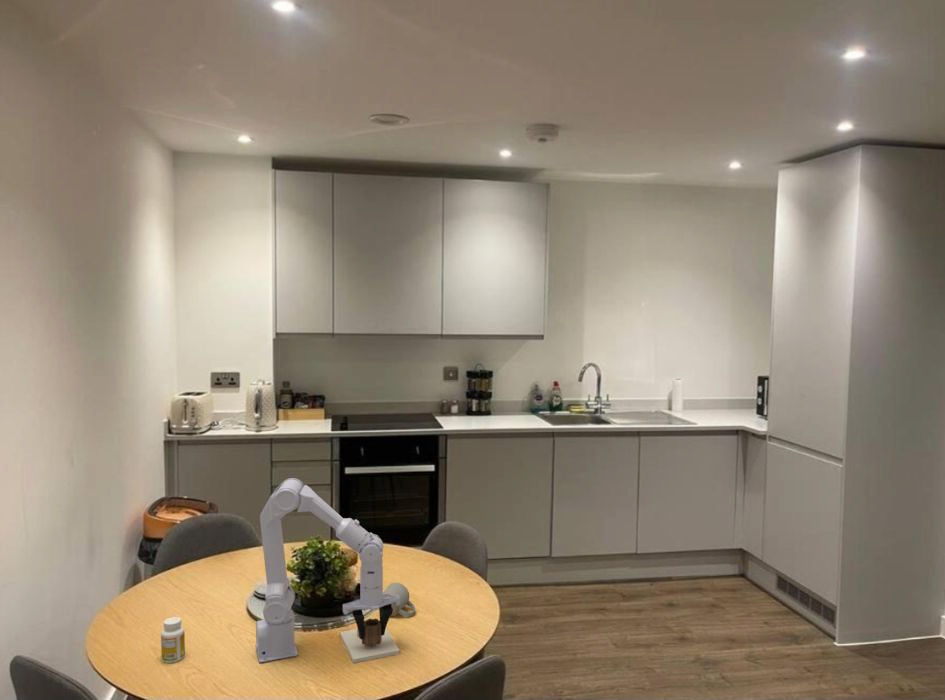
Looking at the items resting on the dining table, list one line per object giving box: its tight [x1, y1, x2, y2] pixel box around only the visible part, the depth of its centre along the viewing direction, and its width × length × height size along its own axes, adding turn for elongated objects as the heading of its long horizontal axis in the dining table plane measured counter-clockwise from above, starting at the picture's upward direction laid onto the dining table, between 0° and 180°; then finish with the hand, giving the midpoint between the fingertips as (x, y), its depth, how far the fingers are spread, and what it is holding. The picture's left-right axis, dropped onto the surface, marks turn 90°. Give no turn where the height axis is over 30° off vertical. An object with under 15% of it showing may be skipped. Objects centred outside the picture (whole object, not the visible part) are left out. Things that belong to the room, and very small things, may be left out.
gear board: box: [339, 628, 401, 664], centre depth 179 cm, size 12×15×4 cm
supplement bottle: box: [160, 616, 186, 664], centre depth 172 cm, size 5×5×10 cm
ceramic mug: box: [383, 582, 416, 618], centre depth 198 cm, size 10×8×7 cm
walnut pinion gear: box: [362, 618, 382, 646], centre depth 177 cm, size 5×5×5 cm
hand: (371, 635), depth 177 cm, fingers closed on walnut pinion gear, 5 cm apart
